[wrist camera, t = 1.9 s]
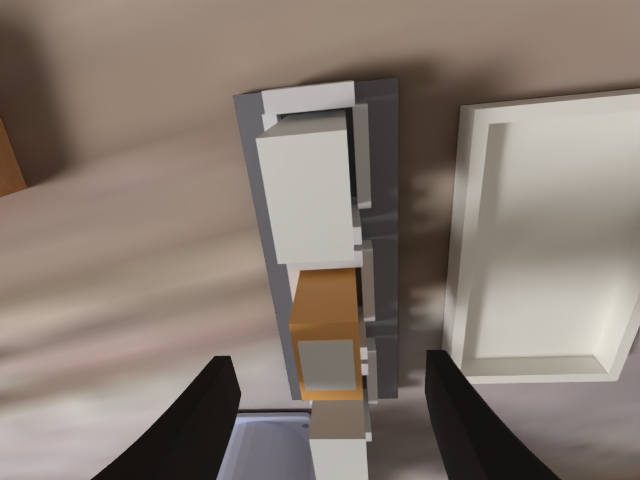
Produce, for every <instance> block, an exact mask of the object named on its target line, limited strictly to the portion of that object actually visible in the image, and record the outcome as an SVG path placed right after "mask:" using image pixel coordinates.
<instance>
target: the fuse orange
mask: <svg viewBox="0 0 640 480" xmlns="http://www.w3.org/2000/svg"><path fill="white" fill-rule="evenodd" d="M289 330H290V335H291V341H292V346H293V352H294V358H295V363H296V369H297V374H298V380H299V386H300V391H301V397H302V401H313V400H363V387H362V371H361V355H360V338H359V322H358V307H357V291H356V275H355V267H354V268H336V269H317V270H300V274H299V279H298V283H297V288H296V292H295V297H294V302H293V306H292V311H291V315H290V320H289Z"/></svg>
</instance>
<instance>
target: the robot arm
mask: <svg viewBox="0 0 640 480" xmlns="http://www.w3.org/2000/svg"><path fill="white" fill-rule="evenodd" d="M425 395H426V400H427V405H428V410H429V415H430V420H431V423H432V427H433V430H434V433H435V437H436V440H437V443H438V446H439V450H440V453H441V456H442V459H443V462H444V466H445V469H446V472H447V475H448V479H449V480H561V479H560V478H559V477H558V476H556V475H555V474H554V473H553V472H552V471H551V470H550V469H549V468H548V467H547V466H546V465H545V464H544V463H542V462H541V461H540V460H539V459H538V458H537V457H536V456H535V455H534V454H533V453H532V452H531V451H530V450H529V449H528V448H527V447H526V446H525V445H524V444H523V443H522V442H521V441H520V440H519V439H518V438H517V437H516V436H515V435H514V434H513V433H512V432H511V431H510V429H509V428H508V427H507V426H506V425H505V424H504V423H503V422H502V421H501V420H500V418H499V417H498V416H497V415H496V414H495V413H494V412H493V411H492V409H491V408H490V407H489V406H488V405H487V403H486V402H485V401H484V400H483V399H482V397H481V396H480V395H479V394H478V393H477V391H476V390H475V389H474V388H473V386H472V385H471V384H470V383H469V381H468V380H467V379H466V377H465V376H464V375H463V373H462V372H461V371H460V369H459V368H458V367H457V365H456V364H455V362H454V361H453V359H452V358H451V357H450V355H449V354H448V352H447V351H446V350H427V357H426V376H425ZM240 398H241V391H240V387H239V384H238V381H237V377H236V374H235V370H234V367H233V363H232V360H231V357H230V356H214V357H213V359H212V360H211V361H210V362H209V363H208V364H207V365H206V366H205V368H204V369H203V370H202V371H201V372H200V373H199V375H198V376H197V377H196V378H195V379H194V380H193V382H192V383H191V384H190V385H189V386H188V387H187V388H186V390H185V391H184V392H183V393H182V394H181V395H180V396H179V397H178V398H177V400H176V401H175V402H174V403H173V404H172V405H171V406H170V407H169V408H168V409H167V410H166V411H165V412H164V414H163V415H162V416H161V417H160V418H159V419H158V420H157V421H156V422H155V423H154V424H153V425H152V426H151V427H150V428H149V429H148V430H147V431H146V432H145V433H144V434H143V435H142V436H141V437H140V438H139V439H138V440H137V441H135V442H134V443H133V444H132V445H131V446H130V447H129V448H128V449H127V450H126V451H124V452H123V453H122V454H121V455H120V456H119V457H118V458H117V459H115V460H114V461H113V462H112V463H111V464H109V465H108V466H107V467H106V468H104V469H103V470H102V471H101V472H100V473H98V474H97V475H96V476H95V477H93V478H92V479H91V480H316V476H315V470H314V464H313V459H312V453H311V448H310V442H309V434H310V424H311V415H310V414H309V413H306V412H284V413H238V408H239V403H240Z"/></svg>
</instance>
